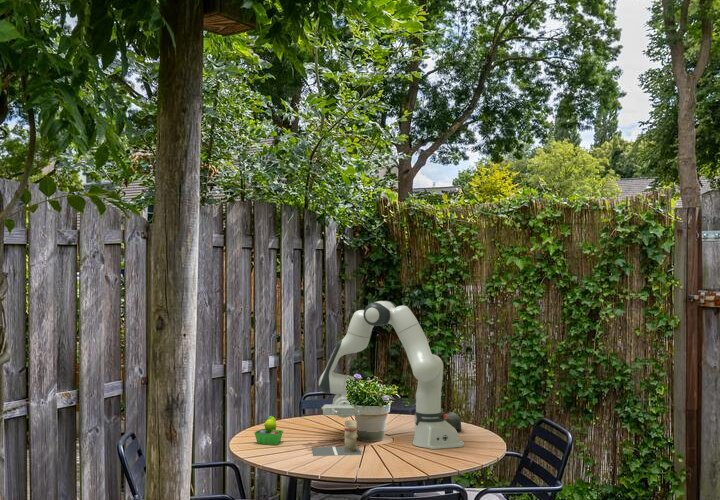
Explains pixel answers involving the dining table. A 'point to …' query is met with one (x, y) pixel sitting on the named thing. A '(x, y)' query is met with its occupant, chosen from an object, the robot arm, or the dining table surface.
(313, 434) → the dining table surface
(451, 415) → the rock
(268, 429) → the fruit basket
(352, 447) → the skittle
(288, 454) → the dining table surface
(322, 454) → the lane mat
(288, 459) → the dining table surface
